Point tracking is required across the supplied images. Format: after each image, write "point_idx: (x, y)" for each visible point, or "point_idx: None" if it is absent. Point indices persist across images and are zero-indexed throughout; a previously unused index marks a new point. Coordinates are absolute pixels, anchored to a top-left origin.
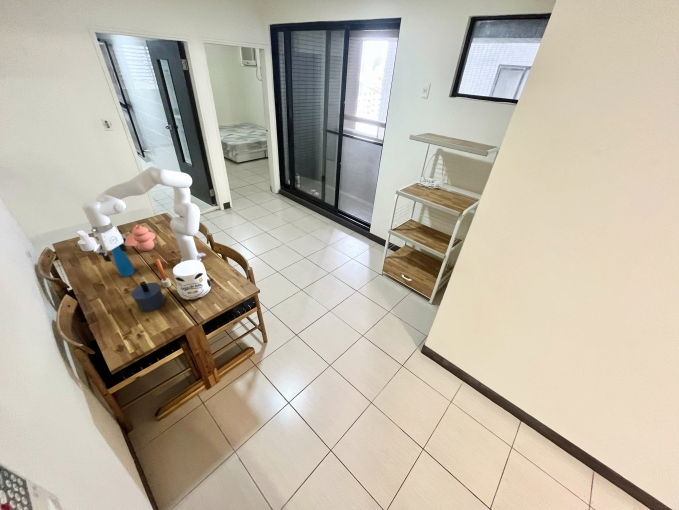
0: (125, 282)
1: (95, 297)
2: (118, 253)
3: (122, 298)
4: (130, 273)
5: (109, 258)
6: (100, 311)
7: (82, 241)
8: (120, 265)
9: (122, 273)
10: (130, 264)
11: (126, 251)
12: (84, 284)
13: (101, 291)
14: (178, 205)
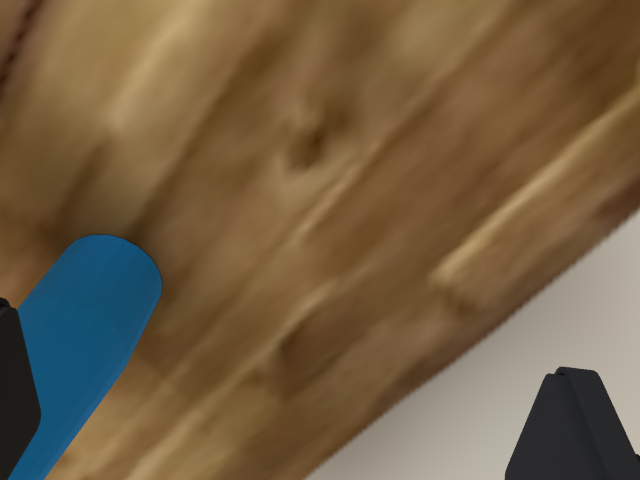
0: (223, 218)
1: (427, 304)
2: None
3: (427, 104)
4: (118, 246)
5: (625, 462)
6: (597, 169)
7: None
8: (109, 343)
9: (150, 294)
10: (46, 289)
11: (3, 301)
12: (305, 434)
13: (358, 309)
14: None
